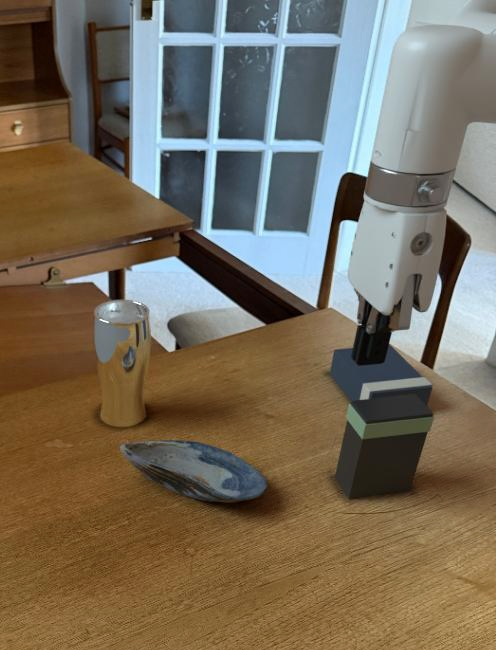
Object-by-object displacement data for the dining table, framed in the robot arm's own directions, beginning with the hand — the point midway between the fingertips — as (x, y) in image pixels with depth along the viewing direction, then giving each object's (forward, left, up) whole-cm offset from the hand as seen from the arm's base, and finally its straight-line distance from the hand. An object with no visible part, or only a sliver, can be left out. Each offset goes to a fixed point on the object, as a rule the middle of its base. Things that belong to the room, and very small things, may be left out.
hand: (367, 360), depth 81 cm
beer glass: (+25, -14, -13) cm, 31 cm away
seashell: (+20, +3, -13) cm, 24 cm away
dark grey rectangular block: (0, +6, -13) cm, 14 cm away
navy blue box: (-9, -18, -11) cm, 23 cm away
